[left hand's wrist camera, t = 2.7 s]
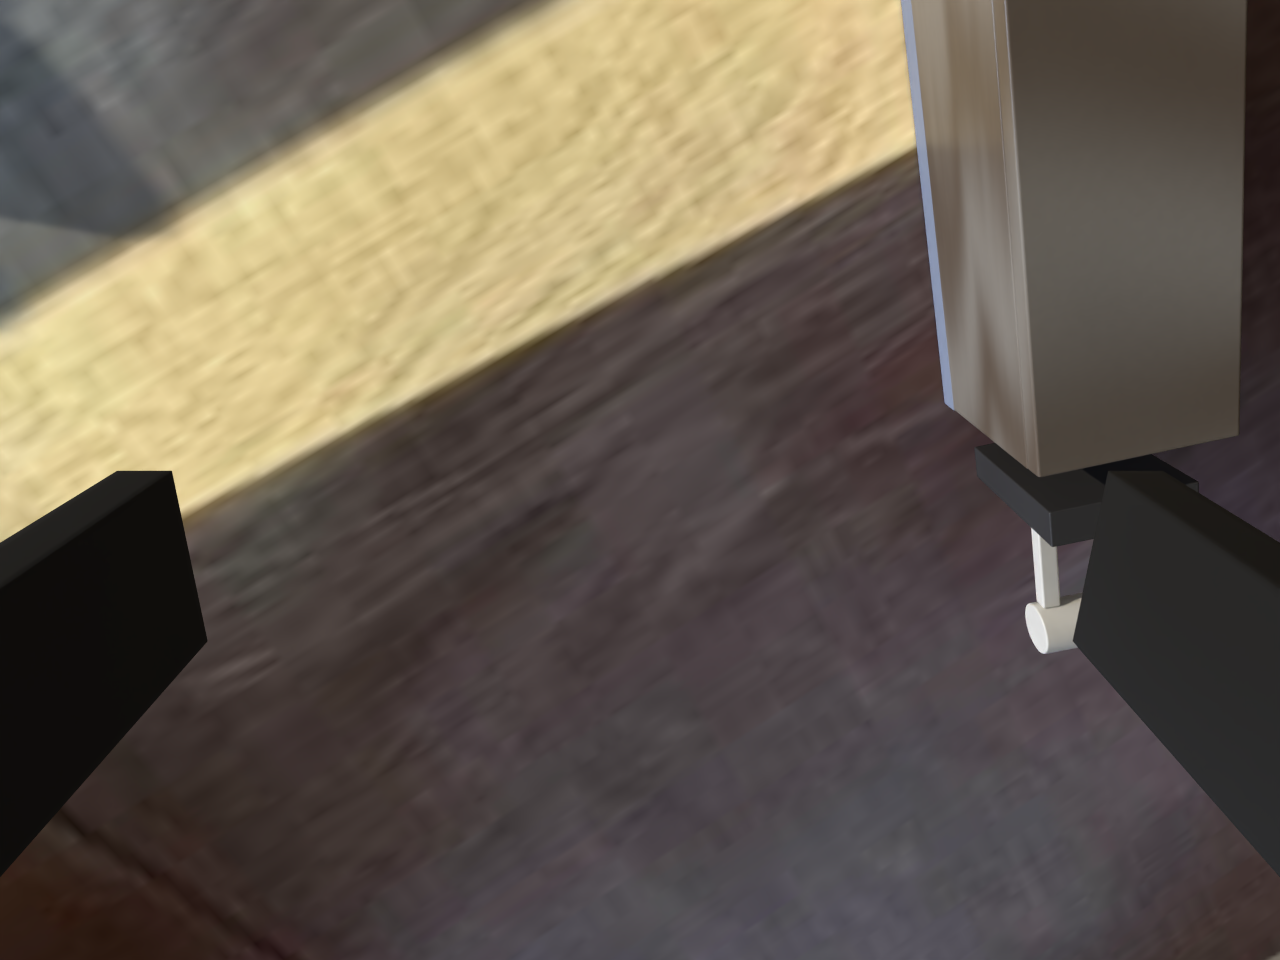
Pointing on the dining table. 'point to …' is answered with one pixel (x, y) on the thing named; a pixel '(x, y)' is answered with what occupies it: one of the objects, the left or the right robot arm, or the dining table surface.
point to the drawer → (1056, 527)
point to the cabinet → (1084, 219)
